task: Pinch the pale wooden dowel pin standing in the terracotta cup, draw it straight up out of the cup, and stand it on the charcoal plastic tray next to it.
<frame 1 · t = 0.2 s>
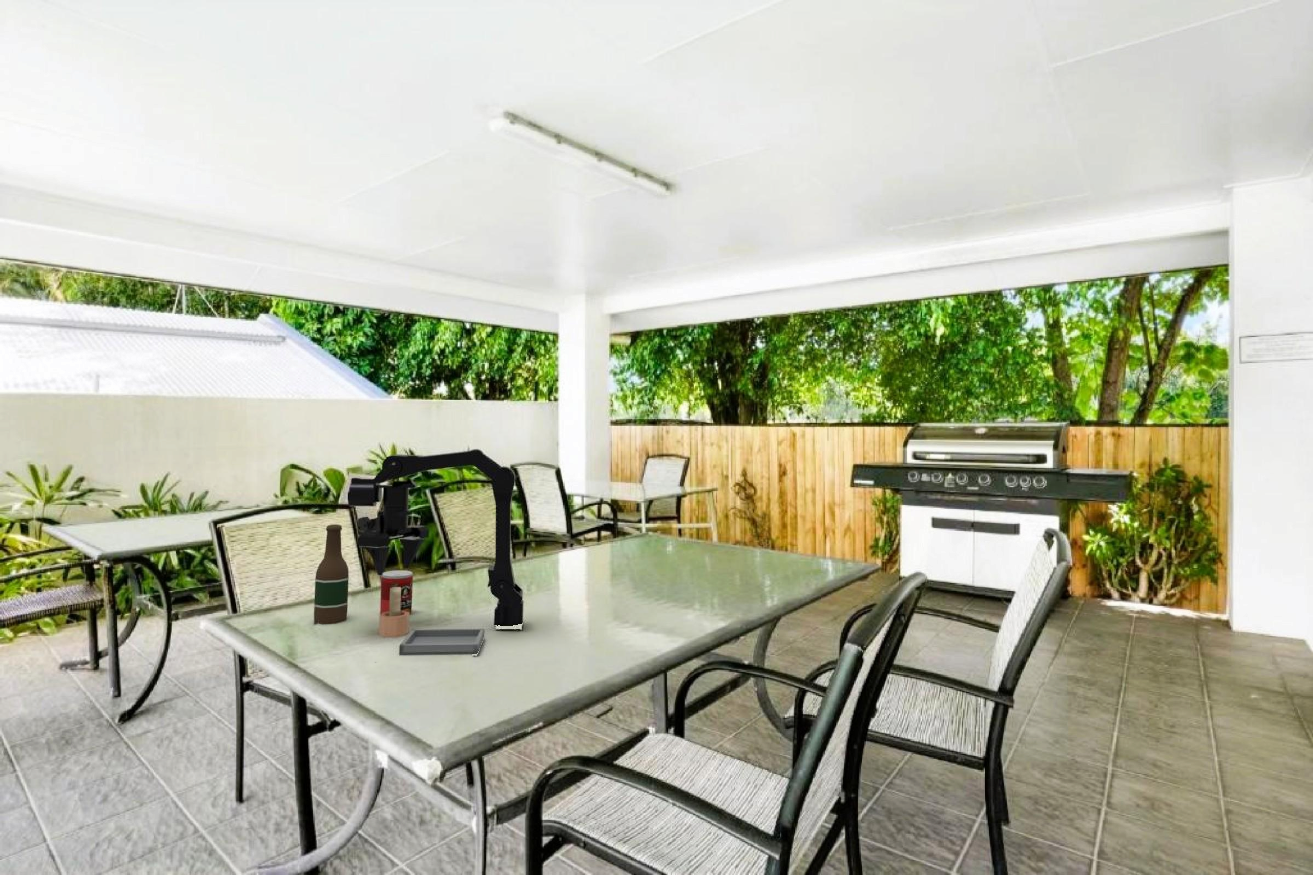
hand: (393, 571, 156), 14 cm above the table, tool pointing down, fingers open, 9 cm apart
beer bottle: (330, 622, 161), on the table
dowel pin: (394, 633, 152), resting on cup
tray: (443, 647, 144), on the table
cup: (393, 635, 152), on the table
canned food: (395, 616, 169), on the table
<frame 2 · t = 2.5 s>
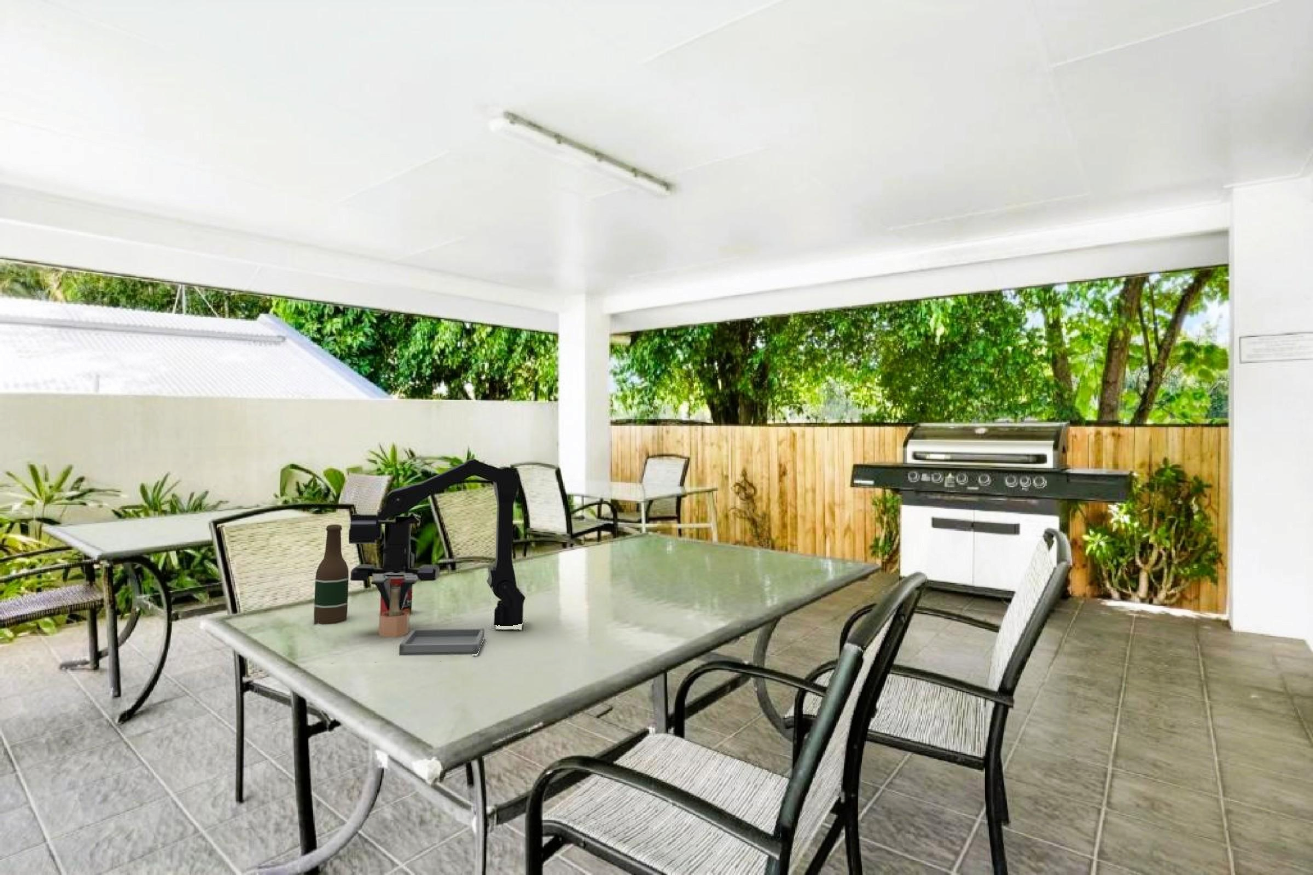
hand: (394, 609, 152), 6 cm above the table, tool pointing down, fingers closed on dowel pin, 2 cm apart
dowel pin: (394, 633, 152), resting on cup, touching gripper
everything else where it was.
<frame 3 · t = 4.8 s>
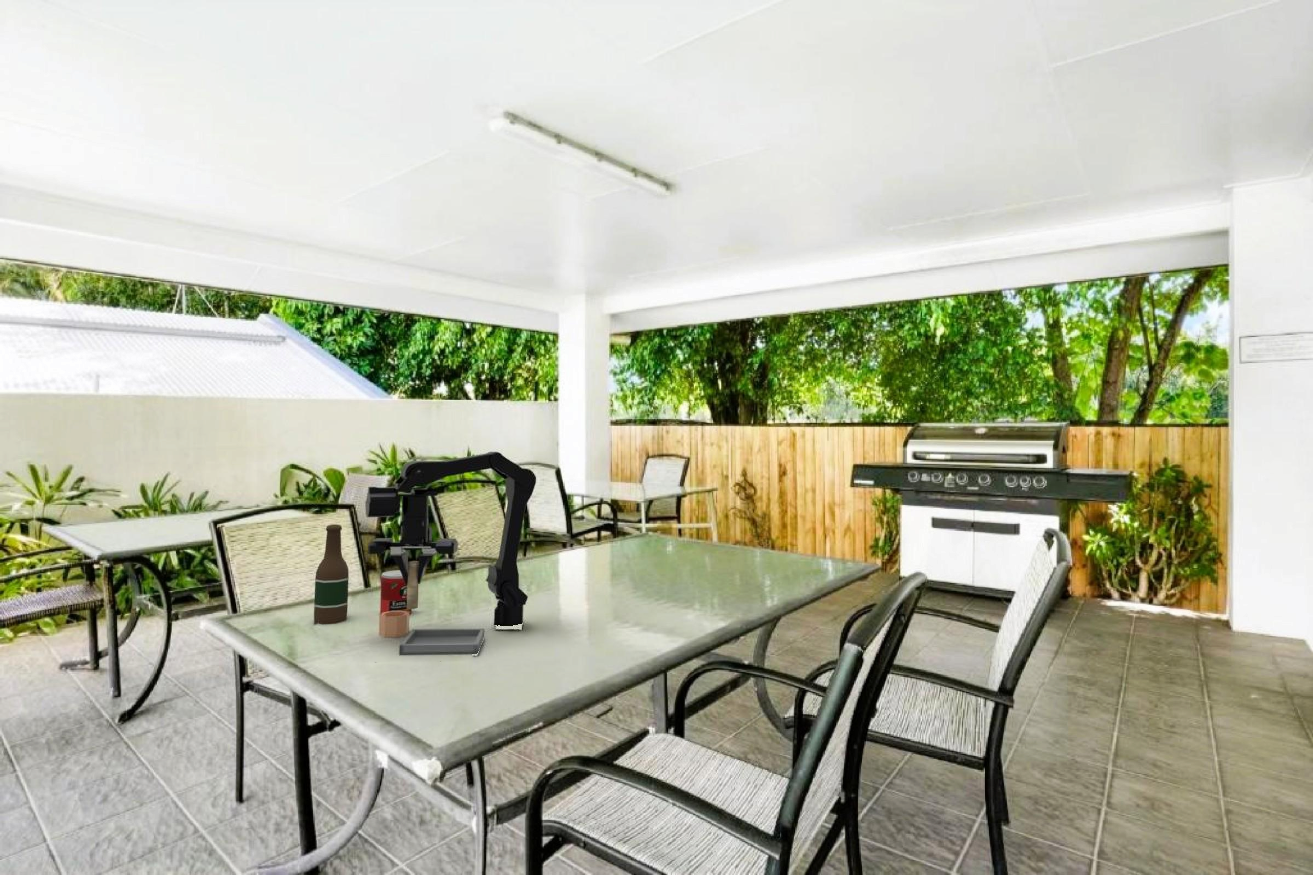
hand: (413, 583, 149), 13 cm above the table, tool pointing down, fingers closed on dowel pin, 2 cm apart
dowel pin: (412, 607, 149), point 7 cm above the table, touching gripper
everything else where it was.
when the fingers open (8 cm above the table, at t = 7.3 s): dowel pin drops 1 cm, resting on tray.
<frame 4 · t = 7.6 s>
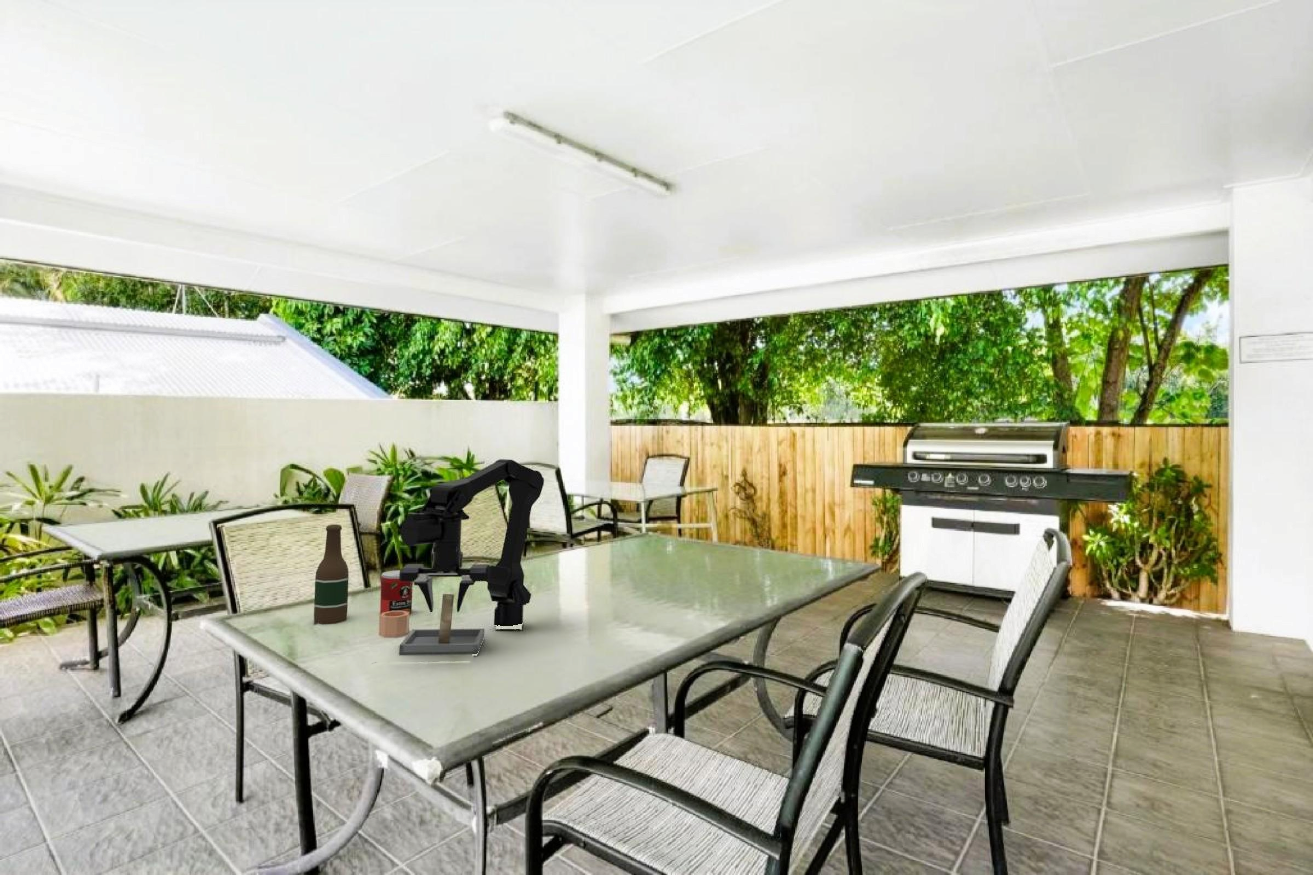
hand: (444, 611, 144), 8 cm above the table, tool pointing down, fingers open, 5 cm apart
dowel pin: (443, 642, 144), point 1 cm above the table, touching tray
everything else where it was.
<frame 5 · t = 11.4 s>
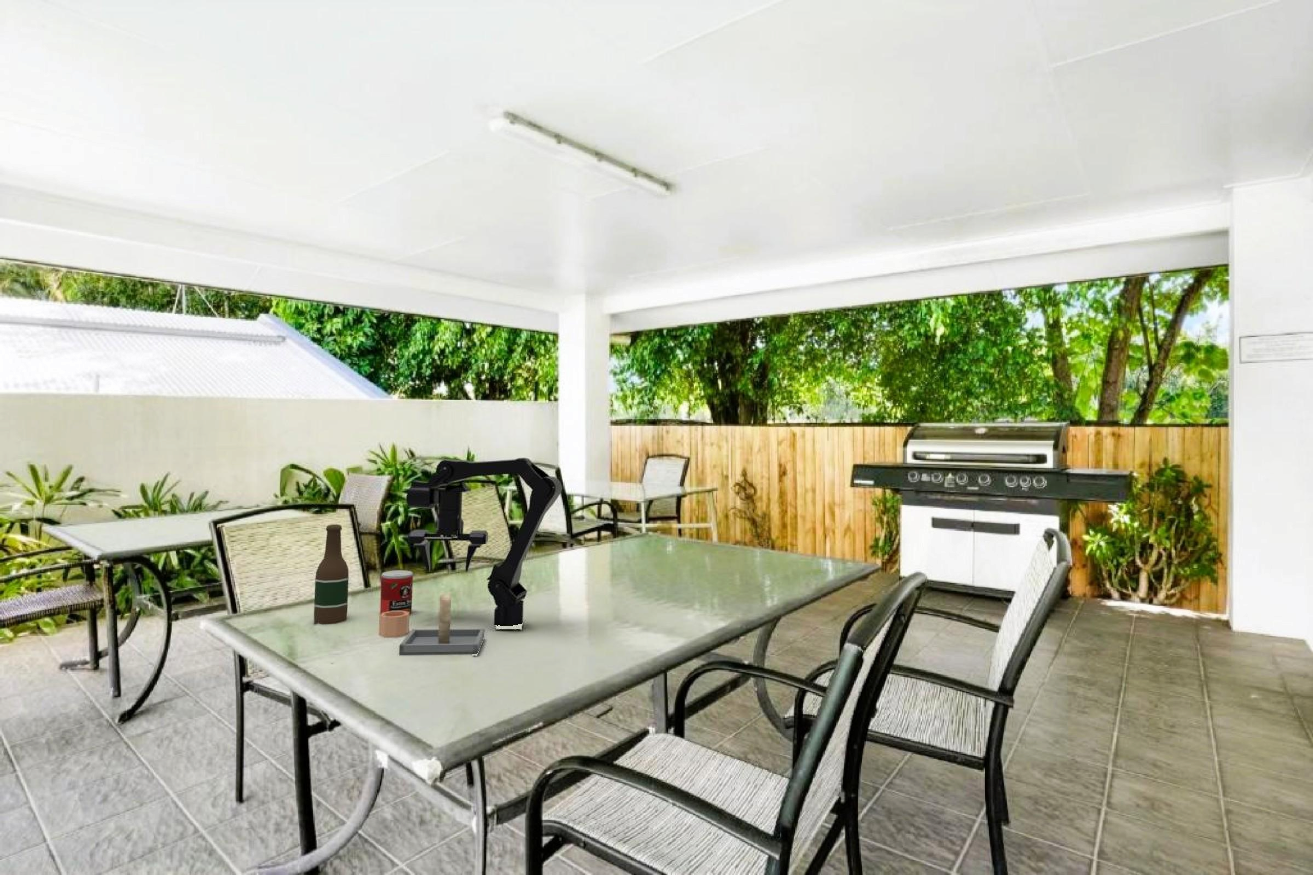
hand: (447, 571, 163), 13 cm above the table, tool pointing down, fingers open, 9 cm apart
nothing on the table moved.
at the end: dowel pin inside the target area on the tray (0.0 cm from its centre), point 1.0 cm above the tray's base; dowel pin tilted 0°; the gripper is holding nothing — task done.
